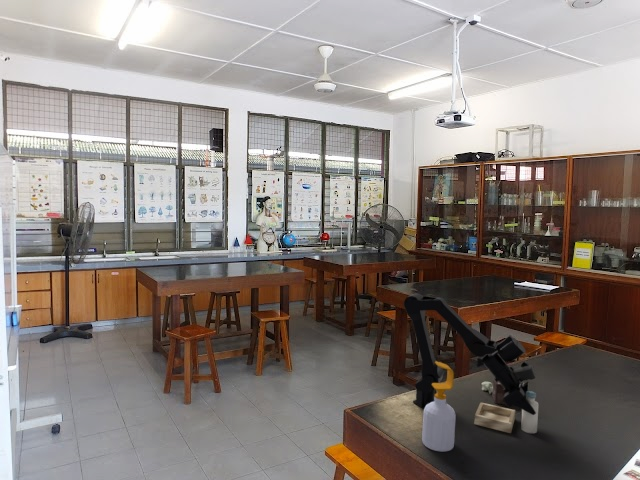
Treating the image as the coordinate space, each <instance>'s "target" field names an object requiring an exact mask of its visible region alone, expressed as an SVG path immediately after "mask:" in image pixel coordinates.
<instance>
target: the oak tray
mask: <svg viewBox="0 0 640 480" xmlns="http://www.w3.org/2000/svg"><path fill="white" fill-rule="evenodd" d="M515 419H516V409H511V408H508V407H502V406H498V405H495V404H489V403H484V402H479V405H478V407H477V409H476V412H475V414H474V423H473V424H474V425H477V426H481V427H485V428H488V429H493V430H496V431H500V432H504V433H508V434H512V431H513V428H514V427H513V426H514V423H515Z"/></svg>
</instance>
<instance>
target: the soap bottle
mask: <svg viewBox="0 0 640 480" xmlns="http://www.w3.org/2000/svg"><path fill="white" fill-rule="evenodd" d="M435 363H436V364H437V365H438V366H439V367H441V368H443V370H444V369H445V370H447V371H446V372H447V373H446V381H445V382H439V383H432V386H433V387H434V389H436V391H437V393H436V394H435V397H434V402H431V403H429V404H427V405H426V406H425V408H424V409H423V414H422V415H423V416H422V417H423V418H422V419H423V421H422V435H421V441H422V445H424V446H425V447H426V448H428V449H430V450H432V451H435V452H442V453H443V452H449V451H452V450H453V449H454V446H455V437H456V436H455V435H456V432H455V431H456V417H457V416H456V412H455V411H456V410H455V409H454V408H453V407H452V406H451V405H450V404H448V402H447V395H446V394H444V393H445V392H446V391H450V390H452V389H453V387H454V374H455V372H454V370H453V369H452V368H451V367H450V366H449V365H448V364H447V363H443V362H442V363H440V361H438V360H437V361H435Z"/></svg>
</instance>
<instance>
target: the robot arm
mask: <svg viewBox="0 0 640 480" xmlns="http://www.w3.org/2000/svg"><path fill="white" fill-rule="evenodd" d="M403 307H404V311H405V312H406V314H407V316H408V317H409V319H410V320H411V322H412V325H413V330H414V334H415V338H416V343H417V346H418V351H419V354H420V358H421V377H420V378H419V379H418V381H417V382H415V384H414V387H415V391H416V392H415V400H412V403H413V404H415V405H417V406H418V407H420V408H421V409H423V410H424V408H425V406H426V405H427V404H429V403H431V402H434V397H435V394H436V393H438V391H437V390H436V389H434V387H433V386H432V383H441V381H442V379H443V378H444V373H445V370H444V368H441V367H439V366H438V365H437V364H436V363H435V361H437V362H438V360H437V359H436V357H435V353H434V349H433V346H432V342H431V337H430V333H429V329H428V326H427V322H426V311H436V312H437V313H438V314H439V316H441V317H442V318H443V319H444V320H445V321H446V323H447V324H449V325H450V327H451V328H452V329H453V330H454V331H455V332H456V333H457V334H458V335H459V336H460V337H461V339H462V341H463V343H464V344H465V347H466V348H467V349H468V351H469V352H470V353H471V354H472V355H473V356H475V357H476V359H477V363H476V367H478V368H479V367H481V366H483V365H484V366H485V367H486V369H487V370H488V371H489V372H490V373H491V374H492V376H493V378H495V379H494V380H495V381H496V382H497V381H498V382H499V383H500V384H501V385H502V386H503V387H504V392H505V395H504V398H503V402H504V403H505V404H504V405H505V406H506V408H508V407H510V406H515V407H517V408H519V409H521V410H522V409H523V410H525V411H526V412H528V413H530V414H532V415H534V414H536V412H535V410H534V409H533V407H532V406H531V404H530V402H529V401H528V399H527V396H526V394H527V391H530V390H529V381H528V380H535V379H536V375H537V374H536V371H535V368H534V366H533V365H532V363H531V364H530V363H529V362H528V361H521V362H520V363H521V365H520V366H518V367H516V368H514V367H513V365H508V364H507V363H508V362H510V363H513V362H514V361H516V360H517V359H518V358H520V357H521V356H523V355H524V354H526V353H527V352H526V348H525V347H524V346H523V344H522V343H521V342H520V341H519V340H517V338H515V337H513V336H512V335H511V334H509V335H507V336H506V338H505V339H502V341H499V342H498V341H495V340H492V339H489V338H488V337H487V336H485V335H484V334H482V333H481V332H480V331H479V330H477V329H475V328H473V327H471V326H470V325H469V323H467V322H466V321H465V320H464V319H463V318H462V317H461V316H460V315H459V314H458V313H457V312H456V311H455V310H454V309H453V307H451V306H450V305H449V304H448V302H446V300H445V299H444V298H443V297H441V296H440V297H436V296H435V297H434V296H429V295H422V294H421V293H418V292H416V293H412V294H410V295H408V296H406V298H405V299H404V301H403ZM439 362H440V363H443V362H442V361H439ZM524 381H526V382H524ZM506 392H507V393H506Z"/></svg>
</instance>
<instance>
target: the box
mask: <svg viewBox="0 0 640 480" xmlns="http://www.w3.org/2000/svg"><path fill="white" fill-rule="evenodd" d="M494 379H495V377H493V380H492V383H493V392H492V395H491V397H492V399H493V401H494V403H495V404H498V405H506V404H505V403H504V402H503V398H504V395H505V392H504V387H503V386H502V385H501V384H500V383H499V382H498V381H497V382H496V381H495V380H494ZM506 393H507V392H506Z"/></svg>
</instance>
